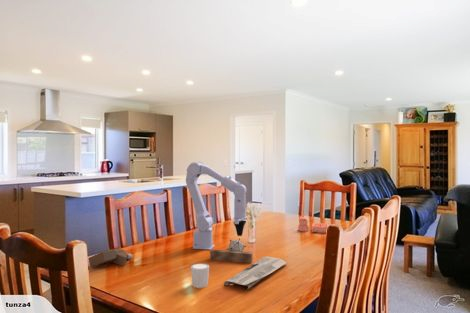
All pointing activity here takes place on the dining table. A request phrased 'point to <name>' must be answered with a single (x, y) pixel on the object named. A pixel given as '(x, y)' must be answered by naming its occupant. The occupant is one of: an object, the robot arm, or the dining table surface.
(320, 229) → the pottery
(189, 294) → the dining table surface
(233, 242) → the game die
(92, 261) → the grey angled block
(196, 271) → the white short cylinder
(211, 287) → the dining table surface
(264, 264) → the newspaper
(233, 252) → the batten
